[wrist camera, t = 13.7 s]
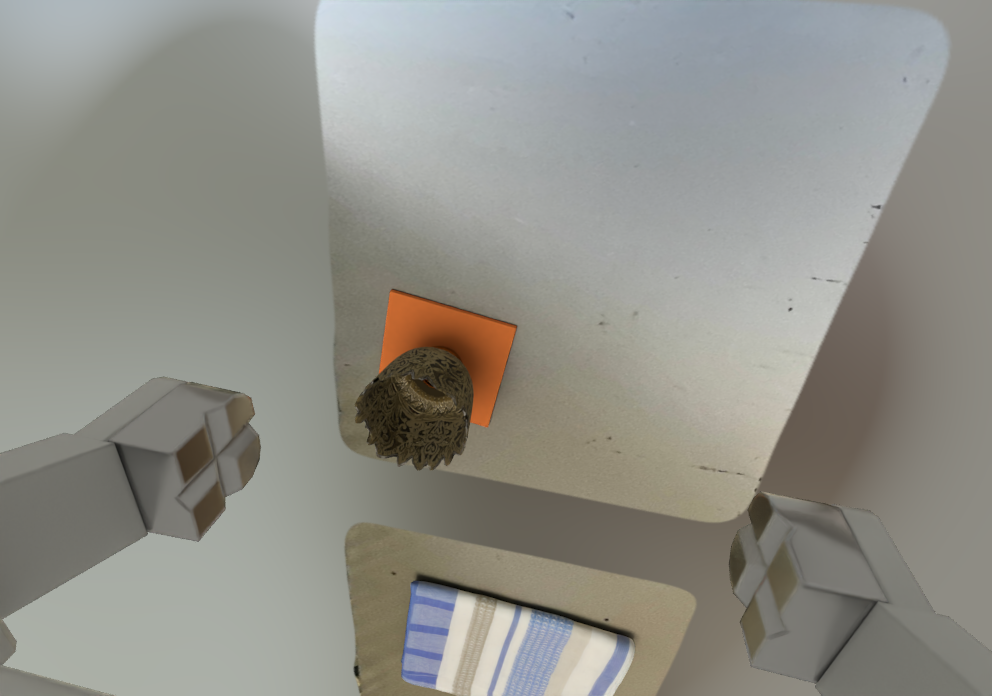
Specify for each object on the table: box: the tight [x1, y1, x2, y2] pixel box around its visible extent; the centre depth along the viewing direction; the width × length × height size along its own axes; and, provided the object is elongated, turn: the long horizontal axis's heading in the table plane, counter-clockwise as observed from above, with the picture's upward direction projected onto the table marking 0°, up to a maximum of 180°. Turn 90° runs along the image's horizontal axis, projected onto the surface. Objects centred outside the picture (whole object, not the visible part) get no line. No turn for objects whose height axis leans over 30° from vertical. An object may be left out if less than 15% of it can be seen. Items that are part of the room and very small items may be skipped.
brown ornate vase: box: [355, 346, 474, 470], centre depth 37 cm, size 8×7×8 cm
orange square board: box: [379, 289, 517, 427], centre depth 40 cm, size 10×10×1 cm
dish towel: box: [401, 581, 635, 696], centre depth 56 cm, size 17×24×3 cm
